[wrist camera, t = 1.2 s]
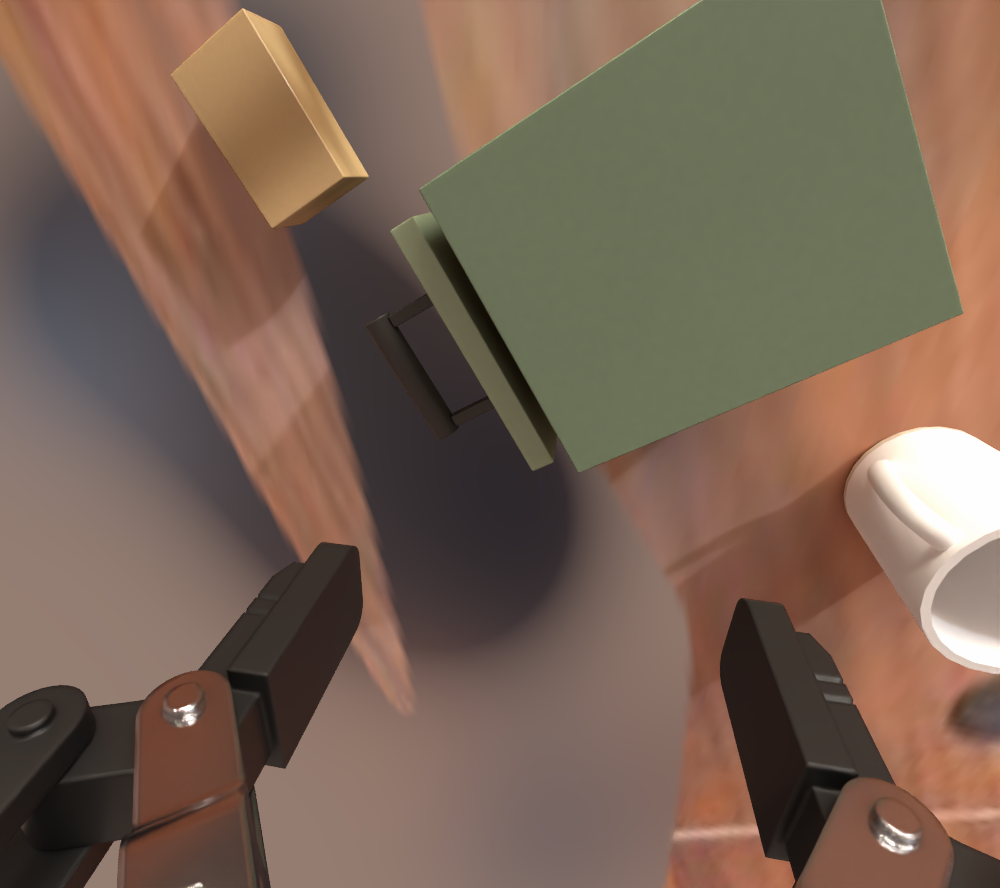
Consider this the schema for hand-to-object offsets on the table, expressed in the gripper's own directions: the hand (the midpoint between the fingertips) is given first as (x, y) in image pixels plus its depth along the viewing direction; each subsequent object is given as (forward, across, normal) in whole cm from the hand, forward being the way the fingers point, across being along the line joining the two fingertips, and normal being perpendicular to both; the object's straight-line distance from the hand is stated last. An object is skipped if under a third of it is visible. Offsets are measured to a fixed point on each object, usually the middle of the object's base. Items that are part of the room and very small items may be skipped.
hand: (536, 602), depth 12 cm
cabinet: (+24, -4, -6) cm, 25 cm away
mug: (+24, -21, +7) cm, 32 cm away
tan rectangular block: (+24, +16, -10) cm, 30 cm away
